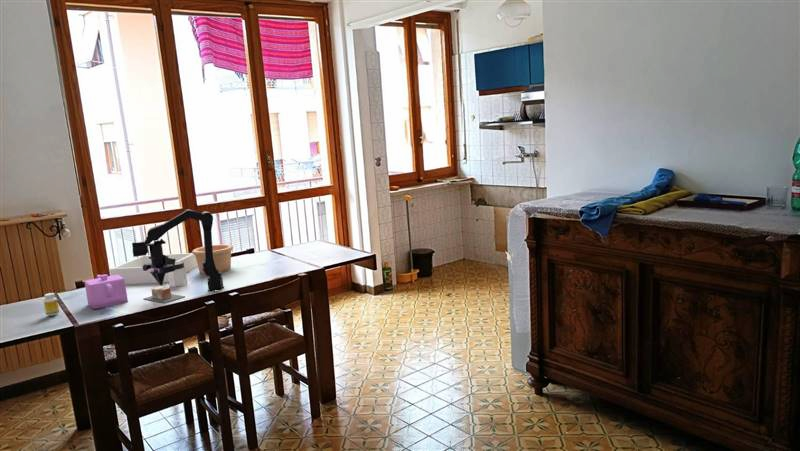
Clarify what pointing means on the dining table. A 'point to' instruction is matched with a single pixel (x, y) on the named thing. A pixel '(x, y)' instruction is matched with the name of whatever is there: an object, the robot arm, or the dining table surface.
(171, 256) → the tub
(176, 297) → the mat
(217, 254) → the pottery
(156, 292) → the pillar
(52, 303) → the supplement bottle
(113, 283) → the pink knobbed box
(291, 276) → the dining table surface
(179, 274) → the white upright block
